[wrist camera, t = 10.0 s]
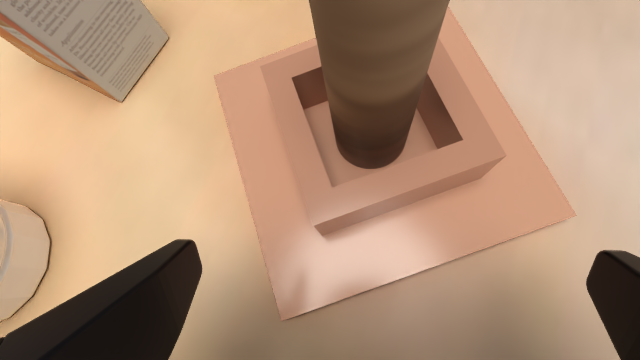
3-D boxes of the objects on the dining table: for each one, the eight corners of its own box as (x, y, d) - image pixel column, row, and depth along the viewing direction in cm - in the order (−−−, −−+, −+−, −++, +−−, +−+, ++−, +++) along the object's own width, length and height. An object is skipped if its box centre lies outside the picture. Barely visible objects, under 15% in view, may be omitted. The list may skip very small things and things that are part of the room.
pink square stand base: (563, 219, 16) (628, 199, 12) (286, 319, 16) (262, 330, 12) (435, 5, 20) (452, -60, 16) (220, 85, 20) (188, 40, 16)
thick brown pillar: (421, 134, 17) (589, -289, 4) (371, 183, 16) (399, -131, 4) (369, 92, 18) (384, -342, 5) (321, 137, 17) (219, -223, 5)
